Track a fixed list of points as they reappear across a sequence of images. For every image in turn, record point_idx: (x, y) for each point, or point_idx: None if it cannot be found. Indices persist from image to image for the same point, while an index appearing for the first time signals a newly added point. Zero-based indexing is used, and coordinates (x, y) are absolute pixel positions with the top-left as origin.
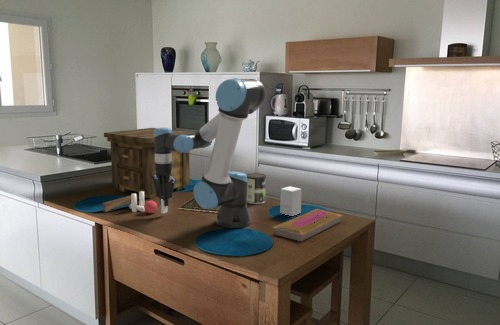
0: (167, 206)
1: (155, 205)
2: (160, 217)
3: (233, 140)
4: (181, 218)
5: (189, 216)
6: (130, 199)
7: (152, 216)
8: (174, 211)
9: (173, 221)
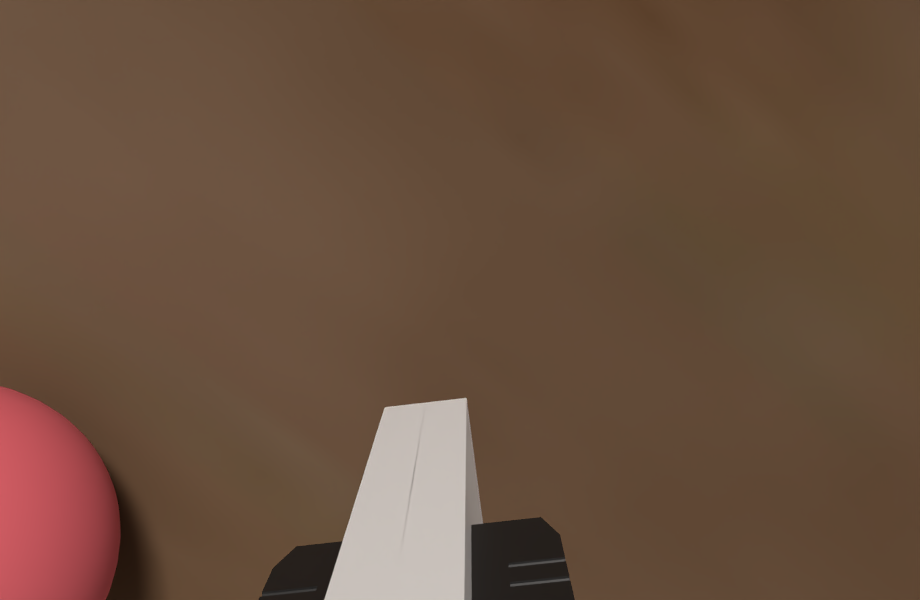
0: (466, 464)
1: (45, 549)
2: None
3: None
4: (836, 274)
5: (890, 38)
6: None
7: (253, 588)
8: (301, 17)
9: (836, 516)
